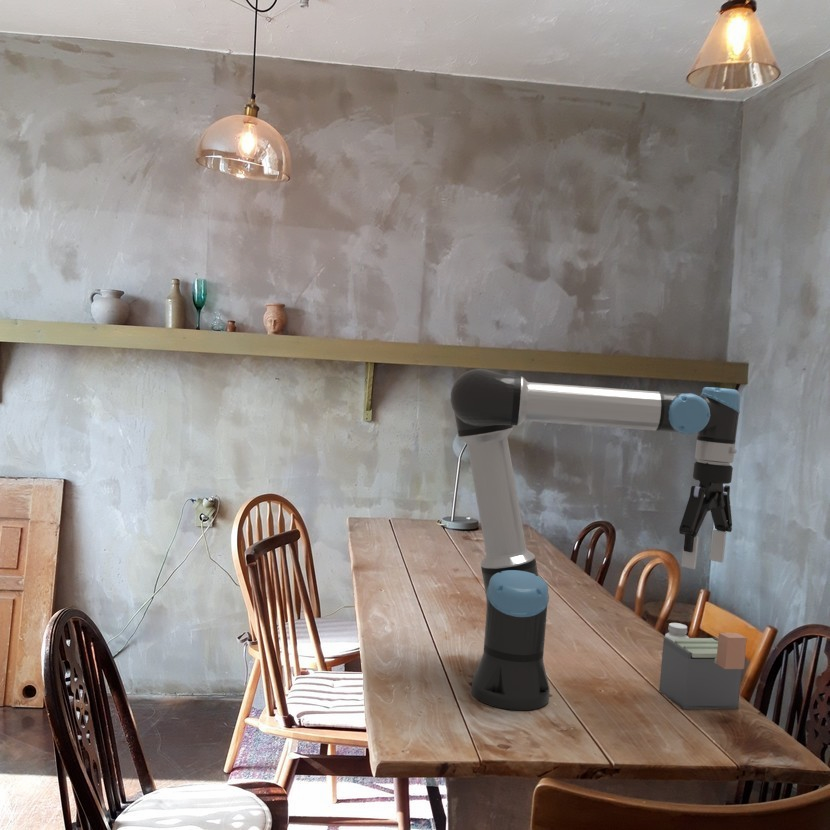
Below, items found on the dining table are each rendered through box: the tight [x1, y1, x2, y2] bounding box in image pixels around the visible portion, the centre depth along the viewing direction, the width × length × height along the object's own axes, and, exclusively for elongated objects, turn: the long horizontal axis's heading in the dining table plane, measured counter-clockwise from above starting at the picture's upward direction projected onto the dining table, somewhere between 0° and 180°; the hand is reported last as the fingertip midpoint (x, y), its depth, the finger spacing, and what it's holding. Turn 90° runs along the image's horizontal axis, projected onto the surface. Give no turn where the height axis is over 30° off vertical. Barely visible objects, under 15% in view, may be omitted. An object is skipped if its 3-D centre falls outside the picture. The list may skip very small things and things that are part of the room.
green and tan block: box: [668, 632, 748, 670], centre depth 164 cm, size 10×16×6 cm, turn 12°
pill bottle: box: [664, 622, 690, 638], centre depth 186 cm, size 5×5×10 cm
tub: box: [658, 636, 743, 710], centre depth 167 cm, size 12×10×11 cm
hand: (702, 564), depth 171 cm, fingers open, 13 cm apart
